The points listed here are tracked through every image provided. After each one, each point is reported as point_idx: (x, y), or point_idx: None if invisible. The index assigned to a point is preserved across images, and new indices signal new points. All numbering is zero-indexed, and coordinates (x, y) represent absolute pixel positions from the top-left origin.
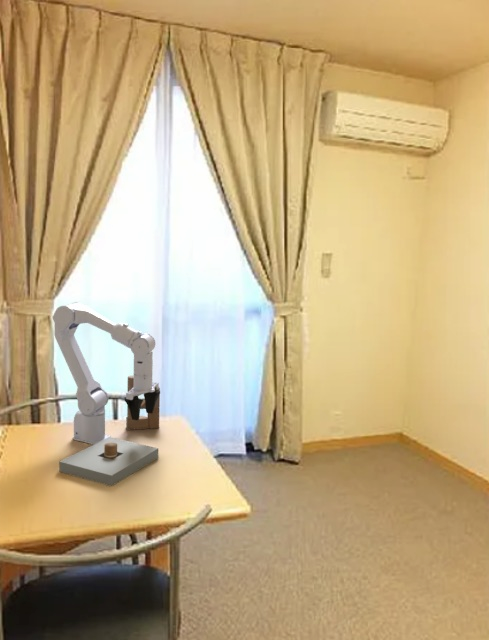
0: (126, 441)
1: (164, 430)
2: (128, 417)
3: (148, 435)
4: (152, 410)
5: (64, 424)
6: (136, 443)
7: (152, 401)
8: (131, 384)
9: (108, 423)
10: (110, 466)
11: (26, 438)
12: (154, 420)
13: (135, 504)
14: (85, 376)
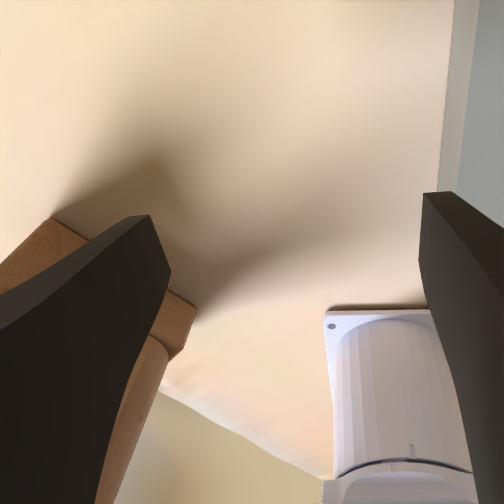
0: (473, 155)
1: (40, 171)
2: (167, 361)
3: (162, 191)
4: (130, 228)
5: (322, 470)
6: (481, 54)
7: (67, 317)
8: None
9: (204, 392)
10: None
11: None
12: (49, 259)
13: None
14: None
